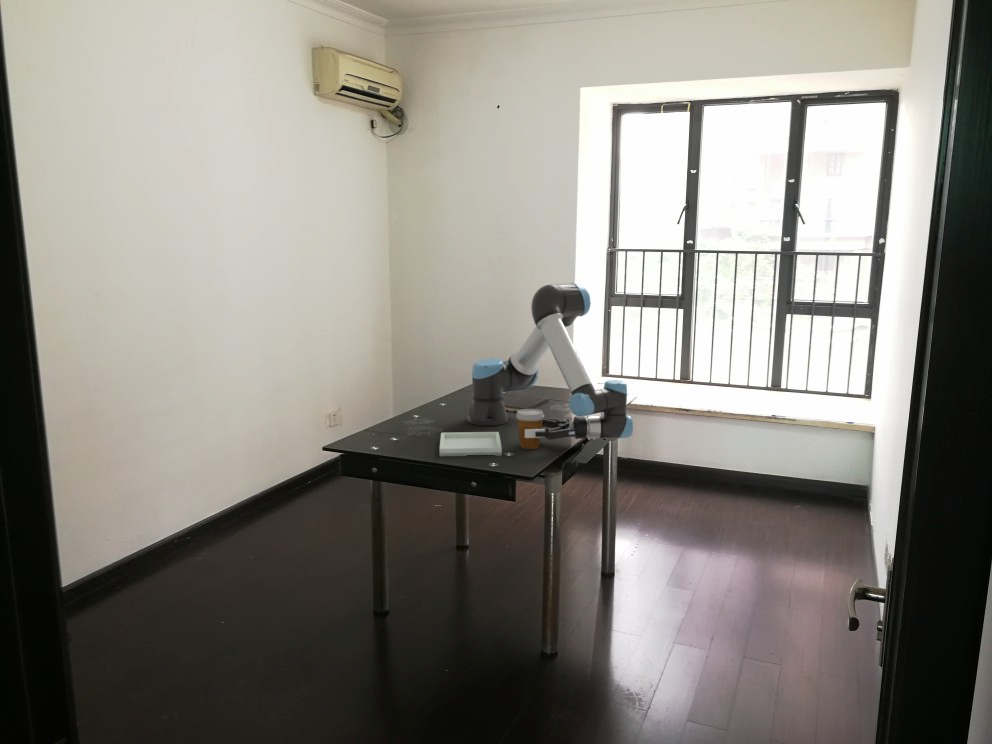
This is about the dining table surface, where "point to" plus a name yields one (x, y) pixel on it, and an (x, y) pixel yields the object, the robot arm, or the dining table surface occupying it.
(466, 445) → the tray
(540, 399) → the hardcover book
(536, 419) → the disposable coffee cup
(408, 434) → the dining table surface
